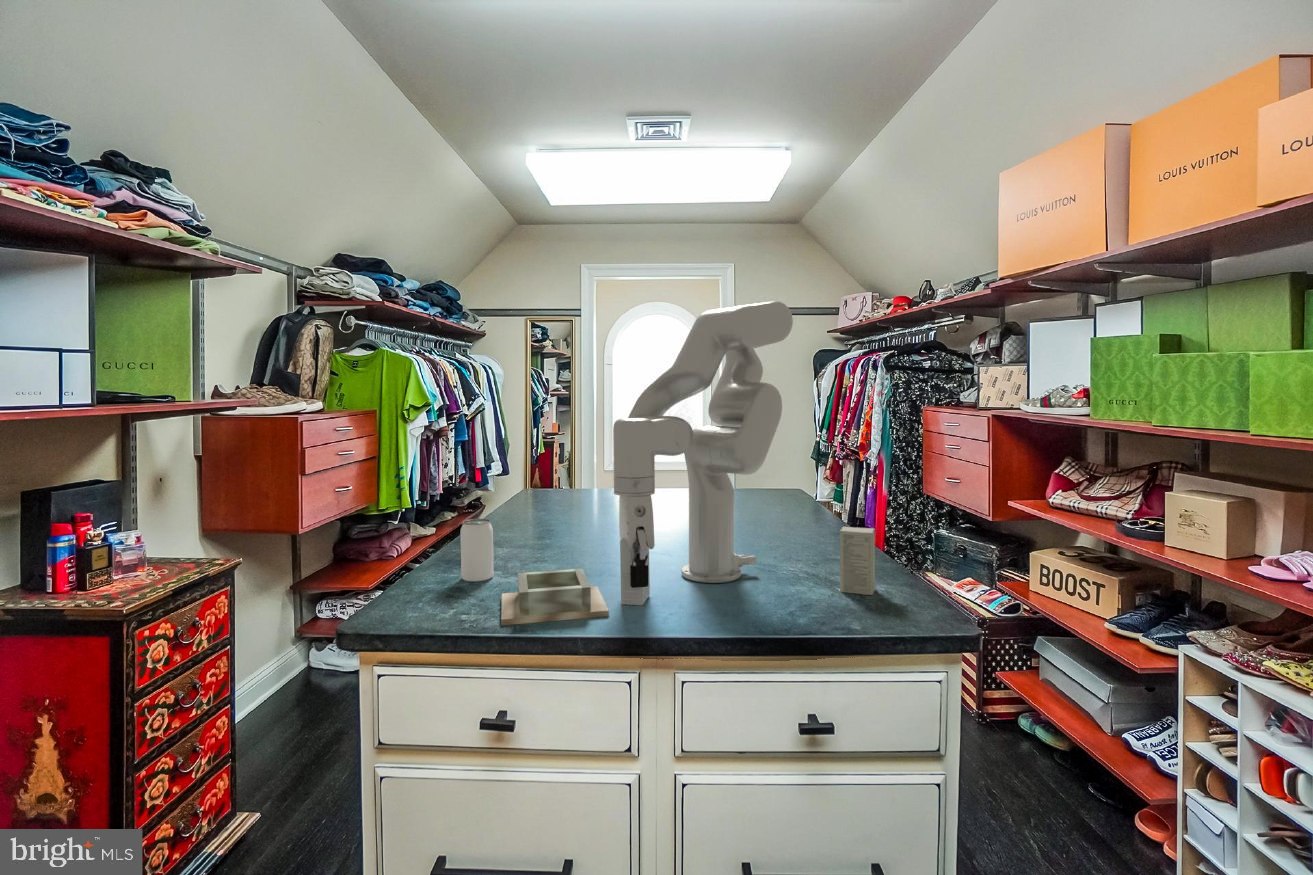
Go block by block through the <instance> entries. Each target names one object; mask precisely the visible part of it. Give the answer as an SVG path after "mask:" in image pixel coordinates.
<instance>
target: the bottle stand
mask: <svg viewBox="0 0 1313 875" xmlns="http://www.w3.org/2000/svg"><path fill="white" fill-rule="evenodd" d="M500 613H501V614H500V615H501V617H500V622H501V623H500V625H501V626H511V625H512V626H513V625H523V624H535V623H545V622H557V621H568V620H578V619H579V620H580V619H582V620H583V619H593V618H601V617H603V618H604V617H610V609H609V608H608V605H607V603H606V602H605V600H604V597H603V595H602V594H601V591H600V589H599V587H598V586H591V585H590V583H589V581H588V578H587V576H586V574H585V572H584V569H583V568H569V569H557V570H556V569H554V570H543V571H542V570H541V571H540V570H539V571H523V572H518V573H517V591H516V592H505V593H504V592H503V593H501V612H500Z"/></svg>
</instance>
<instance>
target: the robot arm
mask: <svg viewBox="0 0 1313 875" xmlns="http://www.w3.org/2000/svg"><path fill="white" fill-rule="evenodd" d="M793 321H794V320H793V314H792V311H791V309H790V308H789V306H787V305H786V304H785V303H784V302H782V301H777V300H776V301H775V300H773V301H766V302H759V303H751V304H743V305H736V306H732V307H725V308H724V307H723V308H717V309H710V310H706V311H704V312H702V313H701V314H700V315H698V317H697V318H696V319H695V321H694V323H693V324H692V327H691V329H690V330H689V332H688V334H687V337H686V339H685V341H684V343H683V345H682V346H681V349H680V351H679V353H678V355H677V357H676V358H675V361H674V363H673V364H672V365H671V367H669V368H668V369H667V370H665V372H664V373H662V374H661V375H660V376H659V377H657V378H656V379H655V380H654V381H653V382H651V383H650V384H649V386H647V387H646V389H644V390H643V391H642V392H641V394H639V397H638V398H637V399H636V401H635V403H634V405H633V407H632V409H631V410H630V413H629V415H628V417H627V418H625V417H624V418H618V419H617V420H616V421H614V423H613V431H612V432H613V434H612V437H613V438H612V440H613V444H612V445H613V451H612V452H613V494H614V495H615V496H619V497H618V498H619V500H618V503H619V504H618V505H619V506H618V509H619V510H618V528H619V529H618V530H619V538H620V540H621V539H622V538H624V539H625V541H626V547H627V549H629V550H630V551H631V559H632V565H630V585H631V587H632V588H638V587H647V586H648V556H647V550H648V549H647V546H648V547H649V550H653V549H654V548H655V545H656V544H655V524H654V509H653V500H652V496H653V495H654V494H656V492H655V491H656V490H655V489H656V488H655V487H656V486H655V485H656V484H655V482H656V480H655V479H656V478H655V477H656V475H655V472H656V471H655V468H656V467H655V464H656V462H655V461H656V460H655V458H656V456H666V457H667V456H668V457H675V456H679V455H680V456H681V455H682V454H684V455H683V456H684V460H685V465H686V466H685V467H686V470H687V478H688V564H686V565H684V566H683V567H682V568H681V576H682V577H683V578H685V579H687V580H690V581H693V582H698V583H706V584H707V583H708V584H720V583H721V584H722V583H729V582H733V581H736V580H738V579H740V578H741V576H742V569H741V568H742V567H743V566H755V565H756V564H757V558H756V556H755V555H747V556H746V554H738V553H736V552H735V490H734V487H733V483H732V481H731V478H730V476H729V475H728V474H732V475H733V474H734V475H742V476H743V475H745V476H746V475H747V476H748V475H752V474H754V473H755V474H756V472H758V471H759V470H760V468H761V467H762V466H763V464H764V463H765V460H766V458H767V456H768V453H769V450H770V447H771V446H772V443H773V441H774V437H775V436H776V432H777V429H778V427H779V423H780V420H781V419H782V418H781V417H782V413H783V412H782V411H783V401H782V396H781V393H780V391H779V390H778V388H777V387H775V386H774V385H773V384H772V383H769V382H763V381H762V382H761V380H762V378H763V375H764V374H763V372H764V367H763V364H762V362H761V359H760V357H759V356H758V354H757V352H756V351H755V348H761V347H765V346H769V345H773V344H777V343H779V342H783V341H784V340H785V339H786V338H788V337H789V335H790V333H791V332H792V328H793V325H794V324H793ZM724 357H725V363H724V364H725V365H724V367H723V369H722V373H721V374H720V377H719V379H718V382H717V384H716V386H715V389H714V391H713V393H712V396H711V398H710V401H709V403H708V416H709V418H710V420H711V421H712V422H713V423H714V424H716V425H703V426H702V425H701V426H697V427H695V428H692V426H691V424H690V423H689V421H687V420H686V419H684V418H682V417H679V416H676V415H675V416H673V415H669V416H668V415H665V414H666V413H667V411H669V410H670V409H671V408H672V407H674V406H675V405H677V404H678V403H680V402H682V401H684V400H686V399H689V398H691V397H693V396H696V395H697V394H699V393H701V392H703V391H705V390H706V389H708V388H709V387H710V386H711V385H712V383H713V381H714V379H715V377H716V374H717V372H718V369H719V367H720V366H721V364H722V362H723V360H724ZM637 543H638V546H639V548H634V546H633V545H635V544H637ZM635 552H639V553H637V555H636V558H635Z"/></svg>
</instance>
